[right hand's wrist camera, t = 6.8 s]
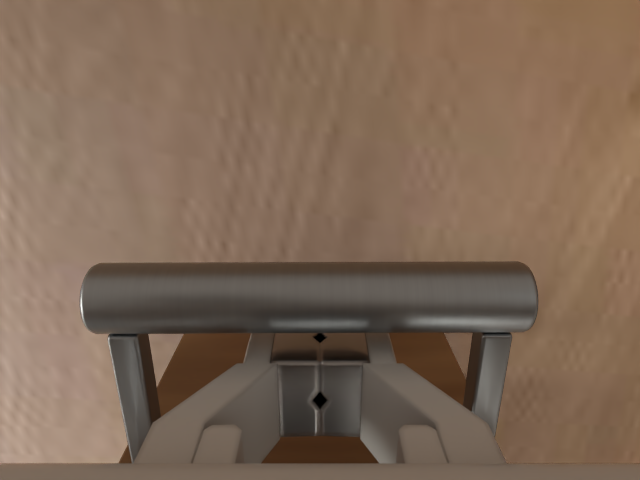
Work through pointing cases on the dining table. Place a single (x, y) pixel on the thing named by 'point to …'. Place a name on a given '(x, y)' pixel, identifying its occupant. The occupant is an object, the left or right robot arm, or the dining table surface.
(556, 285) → the dining table surface
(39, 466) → the right robot arm
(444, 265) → the drawer
